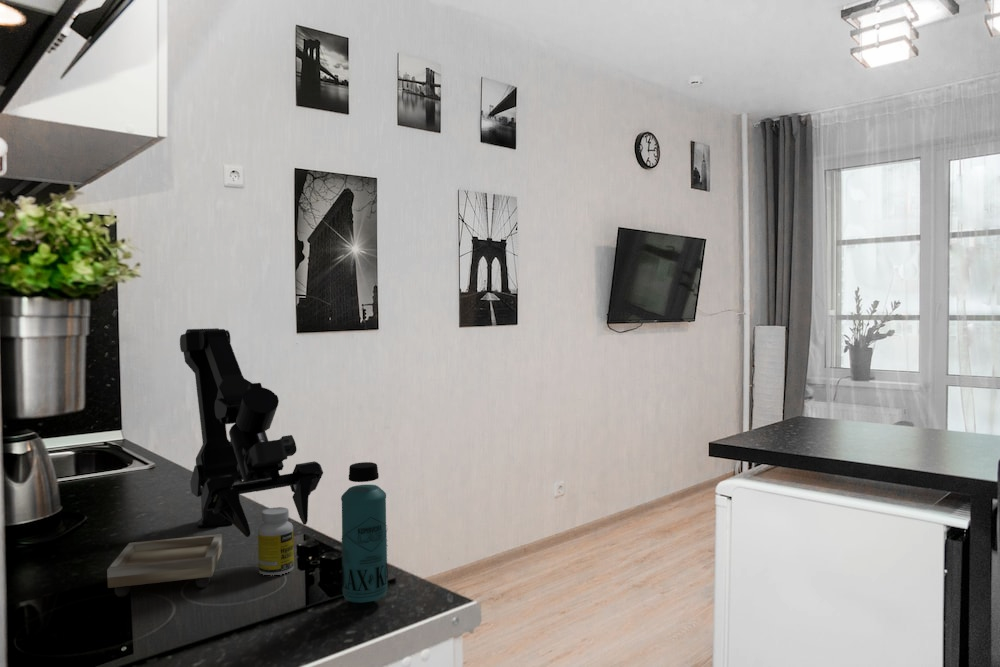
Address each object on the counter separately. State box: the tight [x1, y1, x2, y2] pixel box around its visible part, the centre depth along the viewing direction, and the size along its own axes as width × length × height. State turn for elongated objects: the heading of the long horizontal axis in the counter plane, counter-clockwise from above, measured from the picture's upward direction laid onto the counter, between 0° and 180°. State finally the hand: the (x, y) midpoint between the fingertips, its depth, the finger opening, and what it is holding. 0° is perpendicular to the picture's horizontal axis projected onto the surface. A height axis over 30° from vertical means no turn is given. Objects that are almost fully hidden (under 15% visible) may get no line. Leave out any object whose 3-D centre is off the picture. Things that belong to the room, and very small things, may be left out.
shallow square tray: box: [106, 533, 223, 598], centre depth 107 cm, size 12×14×5 cm
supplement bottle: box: [257, 506, 295, 577], centre depth 110 cm, size 5×5×10 cm
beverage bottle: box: [340, 461, 389, 603], centre depth 96 cm, size 6×7×20 cm
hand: (277, 529), depth 109 cm, fingers open, 9 cm apart
